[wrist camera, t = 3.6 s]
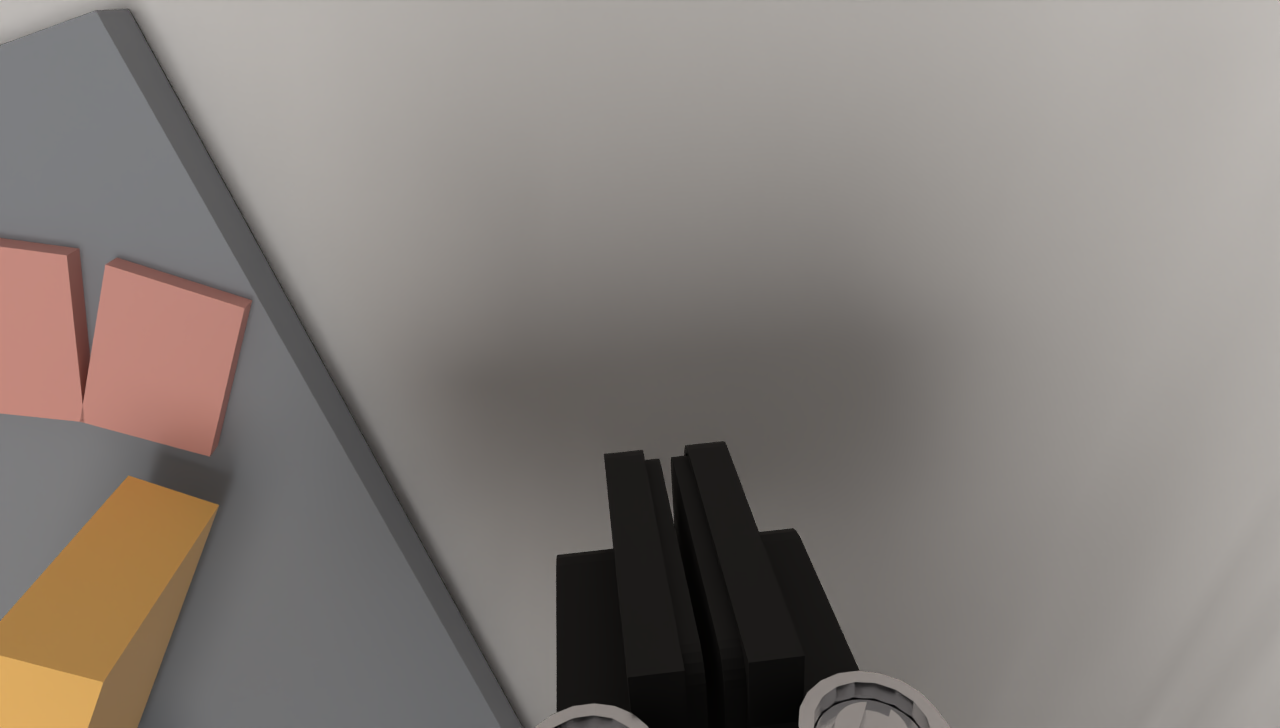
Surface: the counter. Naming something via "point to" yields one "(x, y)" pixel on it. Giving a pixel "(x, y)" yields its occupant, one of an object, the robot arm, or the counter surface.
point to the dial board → (198, 413)
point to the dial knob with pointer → (103, 613)
